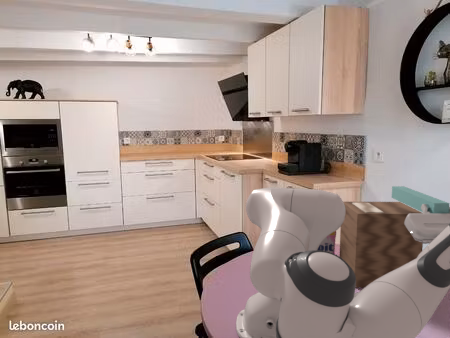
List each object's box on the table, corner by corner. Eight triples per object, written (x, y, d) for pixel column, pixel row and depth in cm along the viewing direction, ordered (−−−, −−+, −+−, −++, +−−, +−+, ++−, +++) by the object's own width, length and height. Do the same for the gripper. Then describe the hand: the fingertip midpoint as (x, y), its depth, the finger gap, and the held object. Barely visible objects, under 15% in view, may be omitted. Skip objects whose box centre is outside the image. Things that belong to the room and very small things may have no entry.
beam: (433, 217, 94) (434, 203, 94) (391, 197, 120) (392, 186, 119) (448, 217, 94) (449, 203, 93) (403, 197, 120) (403, 186, 119)
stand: (354, 287, 117) (357, 212, 114) (339, 265, 135) (341, 200, 132) (419, 288, 116) (424, 213, 113) (395, 266, 134) (399, 201, 131)
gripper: (412, 251, 89) (393, 213, 100) (493, 251, 88) (465, 213, 99) (420, 234, 85) (399, 197, 96) (505, 235, 84) (474, 197, 95)
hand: (433, 205), depth 97 cm, fingers closed on beam, 4 cm apart
